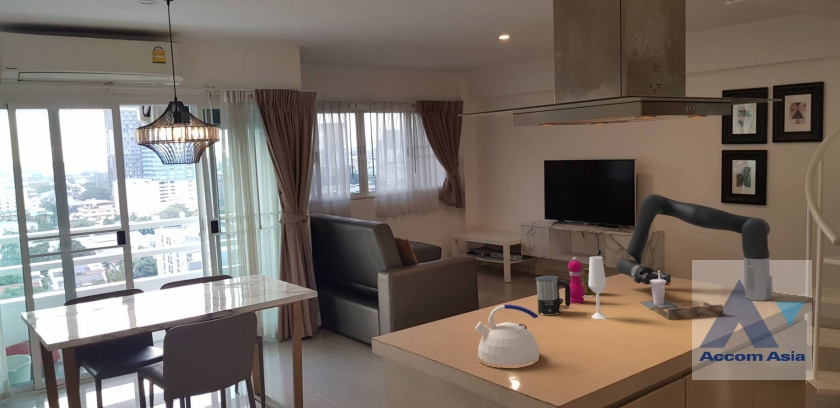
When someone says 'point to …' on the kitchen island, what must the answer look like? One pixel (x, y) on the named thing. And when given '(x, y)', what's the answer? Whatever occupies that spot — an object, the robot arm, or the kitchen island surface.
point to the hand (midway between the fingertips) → (659, 281)
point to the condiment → (585, 283)
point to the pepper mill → (576, 282)
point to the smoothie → (658, 290)
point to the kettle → (507, 341)
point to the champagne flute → (597, 281)
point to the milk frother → (551, 294)
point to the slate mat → (666, 305)
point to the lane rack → (690, 311)
